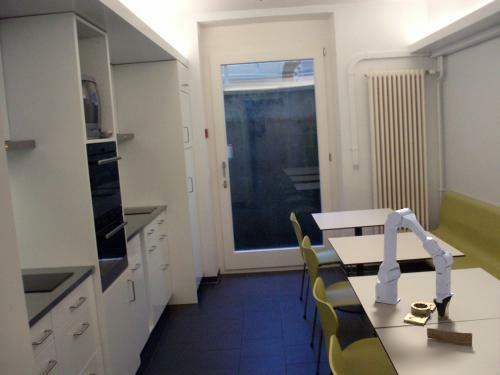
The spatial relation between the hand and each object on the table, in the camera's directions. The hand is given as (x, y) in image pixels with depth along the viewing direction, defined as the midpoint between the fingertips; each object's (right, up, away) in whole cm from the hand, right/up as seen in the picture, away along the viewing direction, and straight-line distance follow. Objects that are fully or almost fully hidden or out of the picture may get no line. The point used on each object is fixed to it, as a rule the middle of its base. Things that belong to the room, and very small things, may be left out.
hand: (443, 313), depth 195 cm
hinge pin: (0, -2, 0) cm, 2 cm away
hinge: (-7, -2, +5) cm, 9 cm away
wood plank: (-6, -6, -21) cm, 23 cm away
